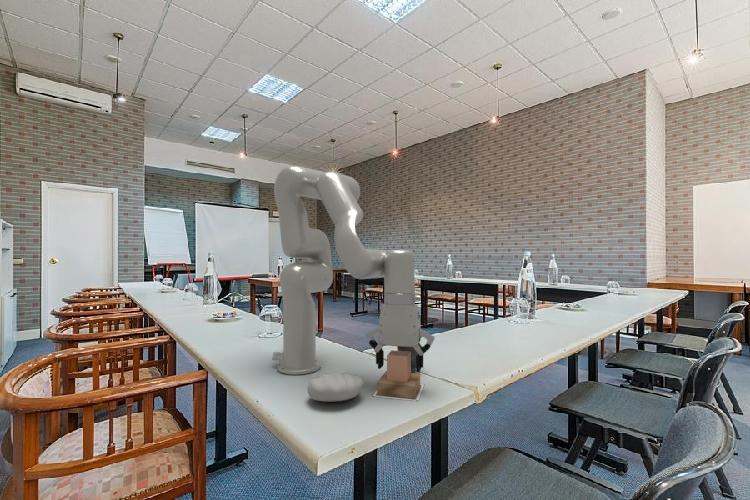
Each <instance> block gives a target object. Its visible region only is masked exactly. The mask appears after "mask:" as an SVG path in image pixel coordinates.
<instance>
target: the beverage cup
mask: <svg viewBox="0 0 750 500" xmlns="http://www.w3.org/2000/svg"><path fill="white" fill-rule="evenodd" d="M396 347H397V351H407V352H411V373H416V372H417V371H416V356H417V352H416V350H415V349H414V348H413V347H400V346H396Z"/></svg>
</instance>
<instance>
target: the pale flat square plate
mask: <svg viewBox="0 0 750 500" xmlns="http://www.w3.org/2000/svg"><path fill="white" fill-rule="evenodd" d="M424 388H425V384H422V383H420V387H419V390H418V392H417V395H416V397H415V399H408V398H398V397H389V396H380V395H377V389H376V390H375V392H374V393H373V394H372V395H371V397H373V398H382V399H392V400H399V401H410V402H418V403H419V401H420V398H421V396H422V393H423V390H424Z"/></svg>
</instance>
